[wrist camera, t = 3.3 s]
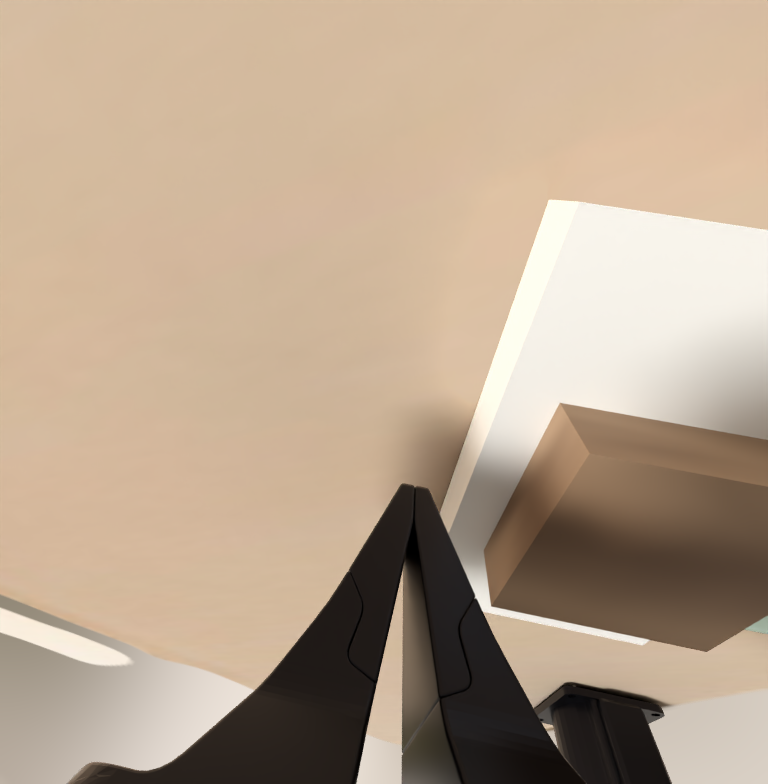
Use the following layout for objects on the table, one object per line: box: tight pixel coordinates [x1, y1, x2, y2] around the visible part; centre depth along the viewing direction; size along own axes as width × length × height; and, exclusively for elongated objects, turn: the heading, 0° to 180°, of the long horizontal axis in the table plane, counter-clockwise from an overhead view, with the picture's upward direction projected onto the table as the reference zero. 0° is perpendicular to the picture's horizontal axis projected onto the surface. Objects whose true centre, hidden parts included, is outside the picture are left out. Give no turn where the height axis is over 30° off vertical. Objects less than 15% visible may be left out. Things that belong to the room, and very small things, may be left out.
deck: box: [440, 200, 768, 645], centre depth 11 cm, size 16×10×2 cm, turn 173°
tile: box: [484, 403, 768, 652], centre depth 10 cm, size 7×7×2 cm
